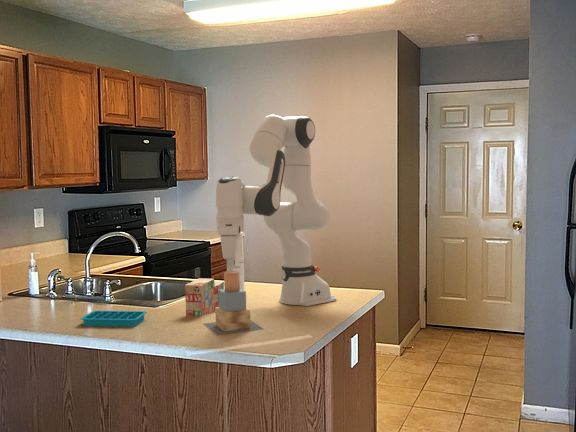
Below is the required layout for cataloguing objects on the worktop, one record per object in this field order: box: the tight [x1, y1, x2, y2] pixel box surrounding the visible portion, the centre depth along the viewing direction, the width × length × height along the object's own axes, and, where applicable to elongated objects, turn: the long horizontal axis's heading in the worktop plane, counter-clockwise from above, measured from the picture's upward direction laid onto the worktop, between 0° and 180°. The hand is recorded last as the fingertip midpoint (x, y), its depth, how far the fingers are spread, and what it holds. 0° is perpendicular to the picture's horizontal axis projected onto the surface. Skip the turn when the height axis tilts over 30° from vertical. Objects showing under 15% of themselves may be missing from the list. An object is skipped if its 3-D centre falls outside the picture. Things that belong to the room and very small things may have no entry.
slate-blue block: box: [219, 288, 247, 312], centre depth 210 cm, size 7×7×6 cm
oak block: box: [214, 307, 251, 331], centre depth 210 cm, size 9×9×6 cm
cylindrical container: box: [226, 232, 245, 291], centre depth 270 cm, size 7×7×25 cm
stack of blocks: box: [184, 277, 225, 318], centre depth 235 cm, size 21×6×12 cm, turn 163°
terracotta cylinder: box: [223, 271, 240, 292], centre depth 209 cm, size 5×5×6 cm
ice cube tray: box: [80, 310, 147, 328], centre depth 222 cm, size 12×20×3 cm, turn 83°
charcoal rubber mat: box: [203, 319, 265, 337], centre depth 210 cm, size 16×16×1 cm
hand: (231, 268), depth 209 cm, fingers open, 8 cm apart
